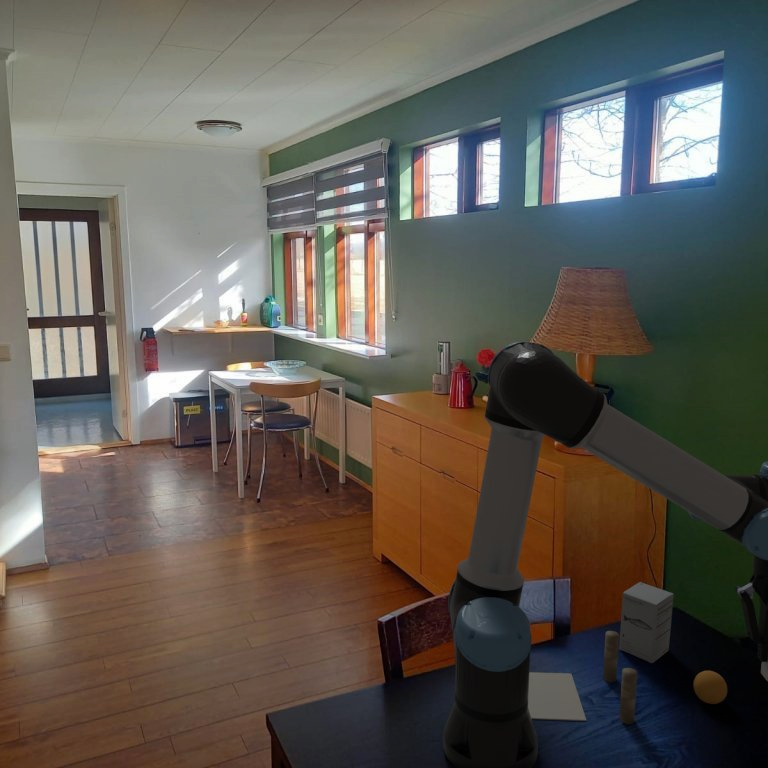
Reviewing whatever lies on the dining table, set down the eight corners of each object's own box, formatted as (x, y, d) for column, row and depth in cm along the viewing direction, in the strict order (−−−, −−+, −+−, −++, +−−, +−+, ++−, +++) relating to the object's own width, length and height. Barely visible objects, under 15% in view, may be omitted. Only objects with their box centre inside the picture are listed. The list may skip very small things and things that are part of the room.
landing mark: (503, 718, 128) (503, 717, 128) (496, 672, 141) (496, 671, 141) (586, 721, 127) (586, 719, 127) (571, 674, 141) (571, 673, 140)
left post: (604, 681, 138) (607, 637, 137) (601, 674, 141) (604, 630, 139) (617, 682, 138) (620, 637, 136) (614, 674, 140) (617, 631, 139)
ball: (698, 710, 130) (701, 681, 129) (688, 691, 135) (690, 664, 134) (731, 711, 129) (733, 682, 128) (719, 692, 135) (721, 664, 134)
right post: (621, 723, 126) (624, 675, 124) (617, 715, 128) (620, 667, 127) (635, 724, 126) (638, 676, 124) (632, 715, 128) (635, 668, 127)
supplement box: (617, 650, 149) (621, 591, 147) (636, 637, 154) (640, 580, 152) (652, 665, 144) (656, 604, 141) (670, 651, 149) (674, 592, 146)
